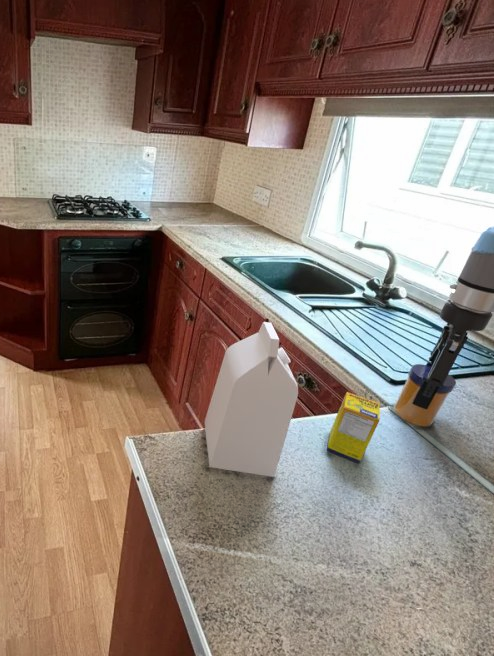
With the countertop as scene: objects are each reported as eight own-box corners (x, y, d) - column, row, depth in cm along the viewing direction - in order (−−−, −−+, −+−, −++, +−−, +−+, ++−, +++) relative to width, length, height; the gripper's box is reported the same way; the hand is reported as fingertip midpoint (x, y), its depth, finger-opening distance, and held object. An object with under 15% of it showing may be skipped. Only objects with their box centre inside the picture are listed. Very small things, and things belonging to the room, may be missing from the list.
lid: (409, 366, 93) (413, 359, 93) (452, 381, 89) (456, 374, 88) (406, 381, 87) (409, 374, 87) (451, 398, 83) (455, 391, 82)
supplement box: (360, 445, 82) (380, 402, 77) (359, 464, 77) (380, 420, 72) (328, 432, 84) (346, 390, 79) (325, 450, 79) (344, 406, 75)
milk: (204, 421, 84) (230, 310, 72) (260, 430, 83) (296, 318, 72) (209, 467, 73) (241, 344, 61) (274, 477, 72) (318, 354, 61)
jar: (430, 412, 94) (450, 375, 89) (433, 431, 88) (455, 392, 83) (392, 399, 97) (410, 363, 92) (393, 417, 91) (412, 379, 86)
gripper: (448, 286, 90) (406, 370, 100) (445, 315, 74) (396, 411, 84) (490, 297, 86) (442, 384, 96) (497, 330, 71) (439, 429, 81)
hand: (420, 396), depth 90 cm, fingers closed on lid, 8 cm apart
